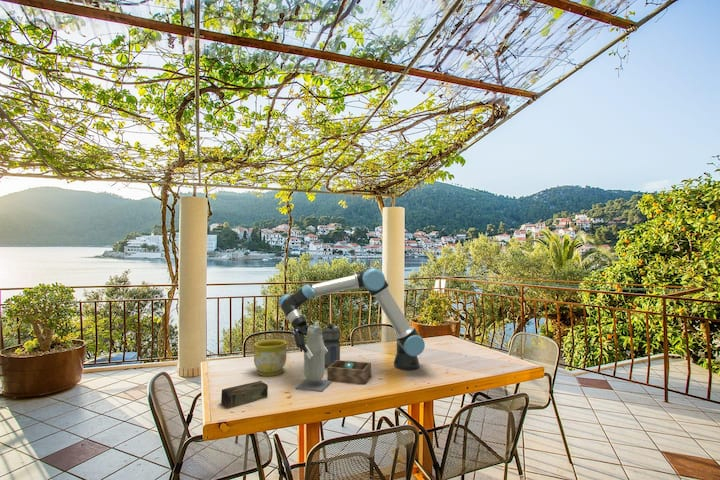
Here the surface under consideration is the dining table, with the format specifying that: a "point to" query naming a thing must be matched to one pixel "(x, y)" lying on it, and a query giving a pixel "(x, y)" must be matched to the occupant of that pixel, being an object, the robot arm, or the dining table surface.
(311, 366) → the grey vase
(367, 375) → the walnut crate
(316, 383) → the grey mat
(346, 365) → the teal tin
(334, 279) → the robot arm
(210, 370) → the dining table surface
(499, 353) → the dining table surface
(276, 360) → the flowerpot
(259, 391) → the beverage carton
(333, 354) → the beverage bottle
